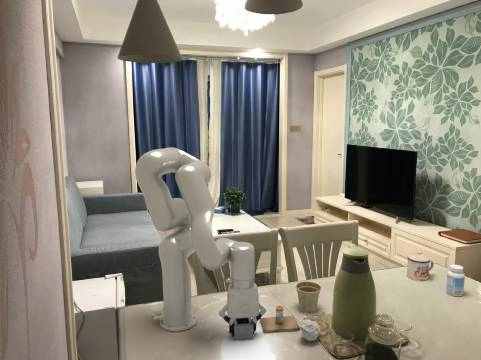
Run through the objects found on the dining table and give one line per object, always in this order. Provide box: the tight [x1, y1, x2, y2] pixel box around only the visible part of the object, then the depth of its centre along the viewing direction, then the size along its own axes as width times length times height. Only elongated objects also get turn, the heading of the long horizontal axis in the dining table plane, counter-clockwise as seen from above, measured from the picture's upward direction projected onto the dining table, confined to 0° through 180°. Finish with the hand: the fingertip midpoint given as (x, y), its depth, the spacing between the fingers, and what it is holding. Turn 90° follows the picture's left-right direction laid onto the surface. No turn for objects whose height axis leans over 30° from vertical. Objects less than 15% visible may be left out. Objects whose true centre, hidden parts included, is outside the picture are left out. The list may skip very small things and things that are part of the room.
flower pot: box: [295, 280, 322, 313], centre depth 144 cm, size 9×9×9 cm
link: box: [233, 317, 254, 342], centre depth 128 cm, size 6×6×5 cm
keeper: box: [259, 305, 301, 334], centre depth 133 cm, size 12×8×6 cm, turn 97°
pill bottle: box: [445, 264, 466, 297], centre depth 155 cm, size 6×6×11 cm
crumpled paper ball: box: [299, 318, 321, 342], centre depth 124 cm, size 6×7×7 cm
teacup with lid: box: [406, 250, 435, 282], centre depth 171 cm, size 12×9×12 cm
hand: (242, 333), depth 128 cm, fingers closed on link, 6 cm apart
